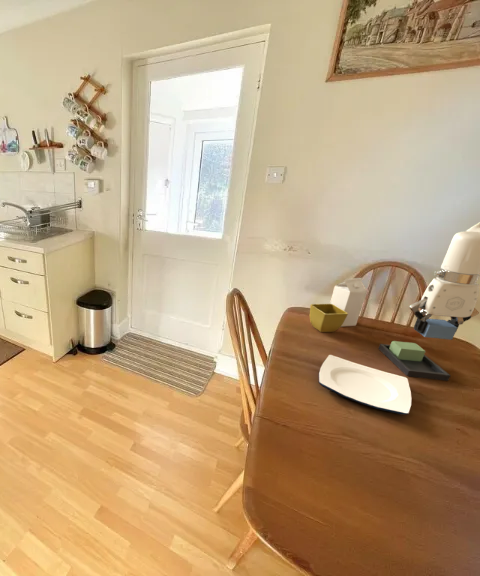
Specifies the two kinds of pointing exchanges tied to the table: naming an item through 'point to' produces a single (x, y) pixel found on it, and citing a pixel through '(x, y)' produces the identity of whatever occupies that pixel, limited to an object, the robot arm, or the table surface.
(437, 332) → the blue block
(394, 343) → the sage pad
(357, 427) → the table surface
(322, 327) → the flower pot
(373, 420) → the table surface
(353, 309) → the milk carton
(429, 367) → the tray
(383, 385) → the plate
